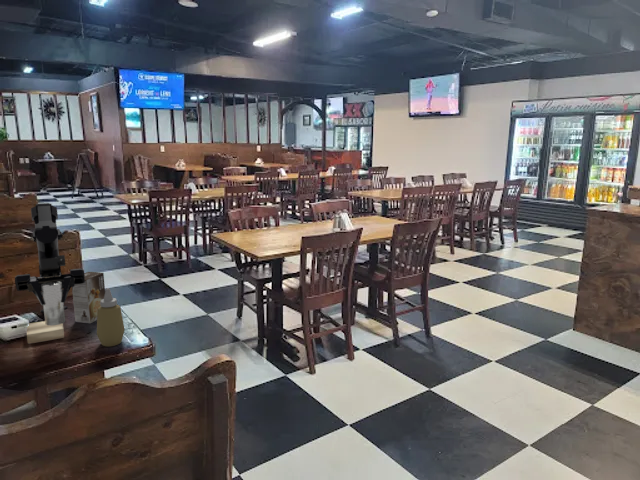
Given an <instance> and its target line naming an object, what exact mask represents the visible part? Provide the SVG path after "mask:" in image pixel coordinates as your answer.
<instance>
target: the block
mask: <svg viewBox="0 0 640 480" xmlns="http://www.w3.org/2000/svg"><path fill="white" fill-rule="evenodd" d="M28 324H29V326H28V327H27V326H26V327H27V328H26V340H27V344H35V343H41V342H47V341H52V340H57V339H58V340H59V339H65V331H64V330H65V329H64V323H62V324H59V325H52V326H50V325H46V324H45V320H44V321H43V320H42V321H37V322H30V323H29V322H28Z"/></svg>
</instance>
